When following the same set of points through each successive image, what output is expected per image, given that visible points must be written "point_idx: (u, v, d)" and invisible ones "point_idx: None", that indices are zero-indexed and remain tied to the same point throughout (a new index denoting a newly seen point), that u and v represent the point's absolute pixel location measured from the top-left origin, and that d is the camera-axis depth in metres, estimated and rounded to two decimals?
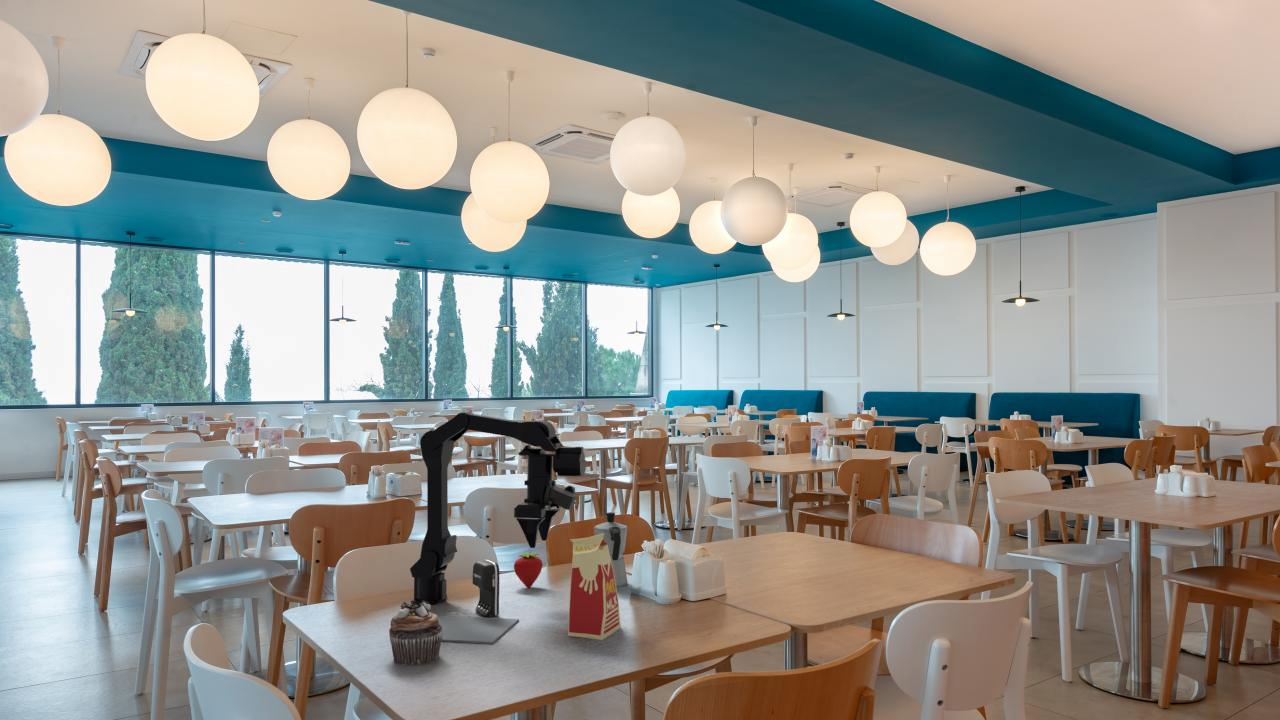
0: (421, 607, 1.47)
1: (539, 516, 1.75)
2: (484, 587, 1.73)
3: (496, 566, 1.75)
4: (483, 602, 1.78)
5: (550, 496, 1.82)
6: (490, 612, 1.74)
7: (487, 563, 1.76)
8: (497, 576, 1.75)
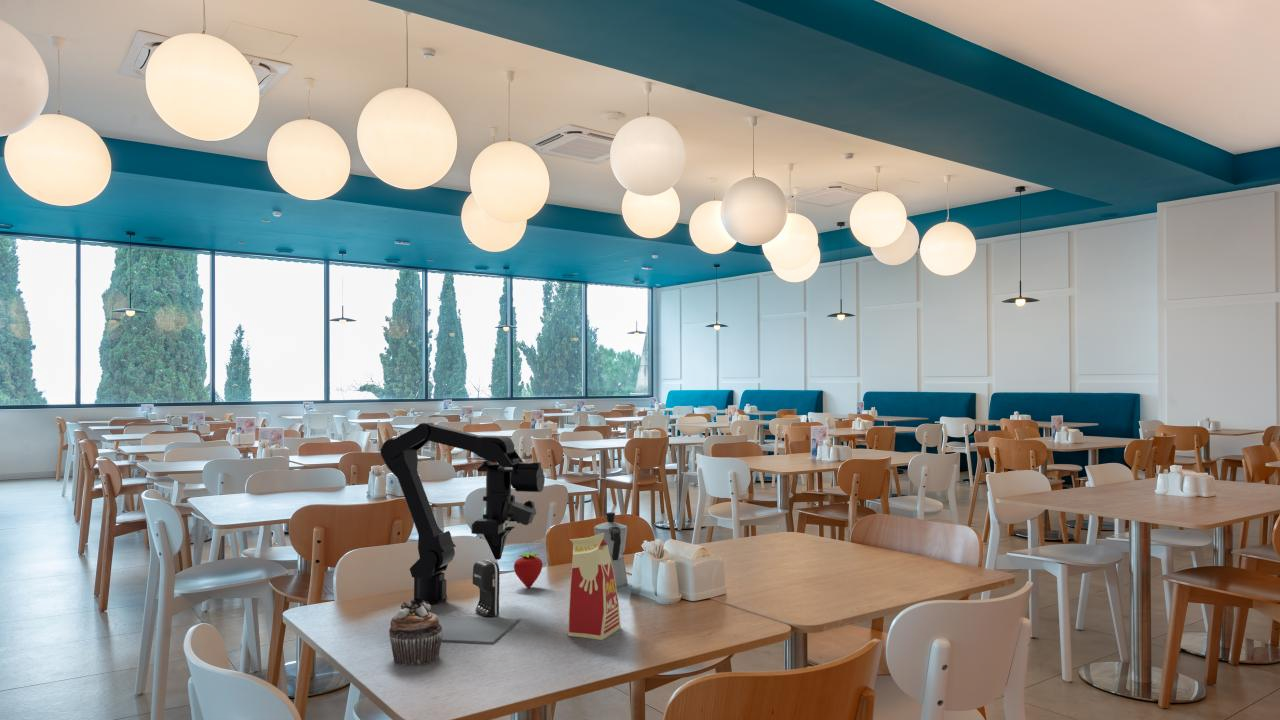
0: (421, 607, 1.47)
1: (496, 532, 1.76)
2: (484, 587, 1.73)
3: (496, 566, 1.75)
4: (483, 602, 1.78)
5: (508, 512, 1.83)
6: (490, 612, 1.74)
7: (487, 563, 1.76)
8: (497, 576, 1.75)
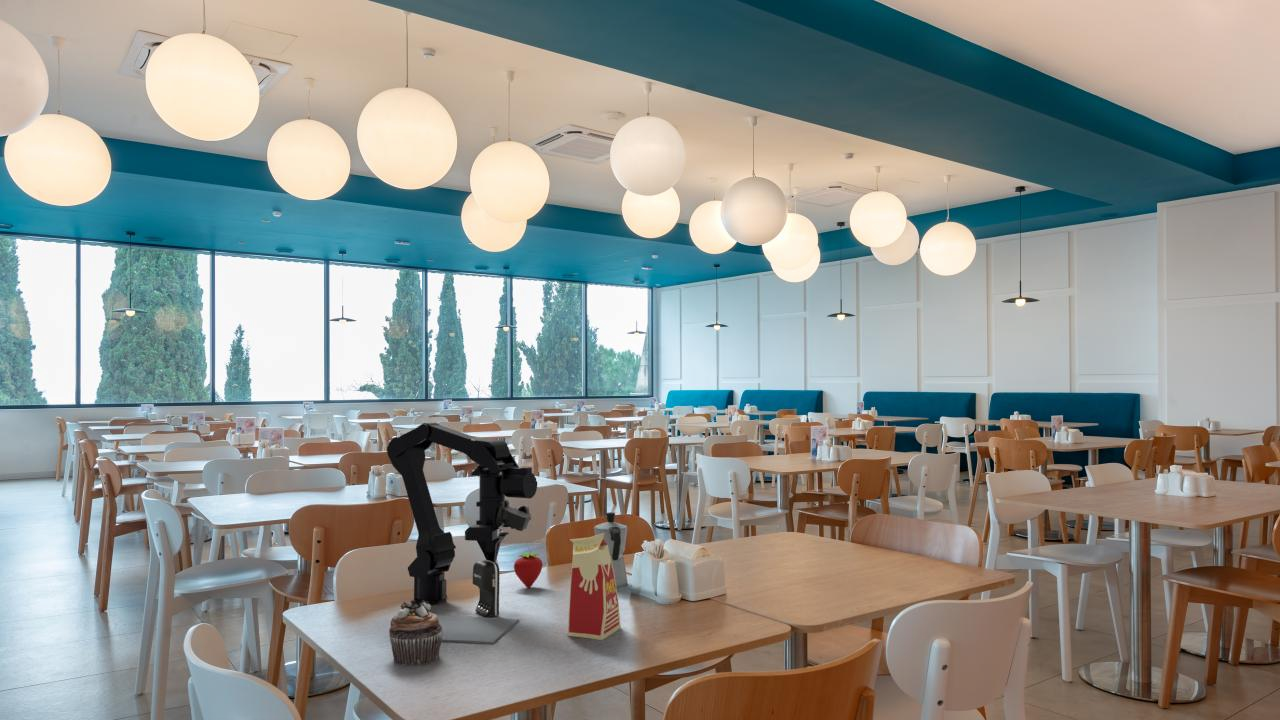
0: (421, 607, 1.47)
1: (490, 538, 1.72)
2: (484, 587, 1.73)
3: (496, 566, 1.75)
4: (483, 602, 1.78)
5: (502, 517, 1.78)
6: (490, 612, 1.74)
7: (487, 563, 1.76)
8: (497, 576, 1.75)
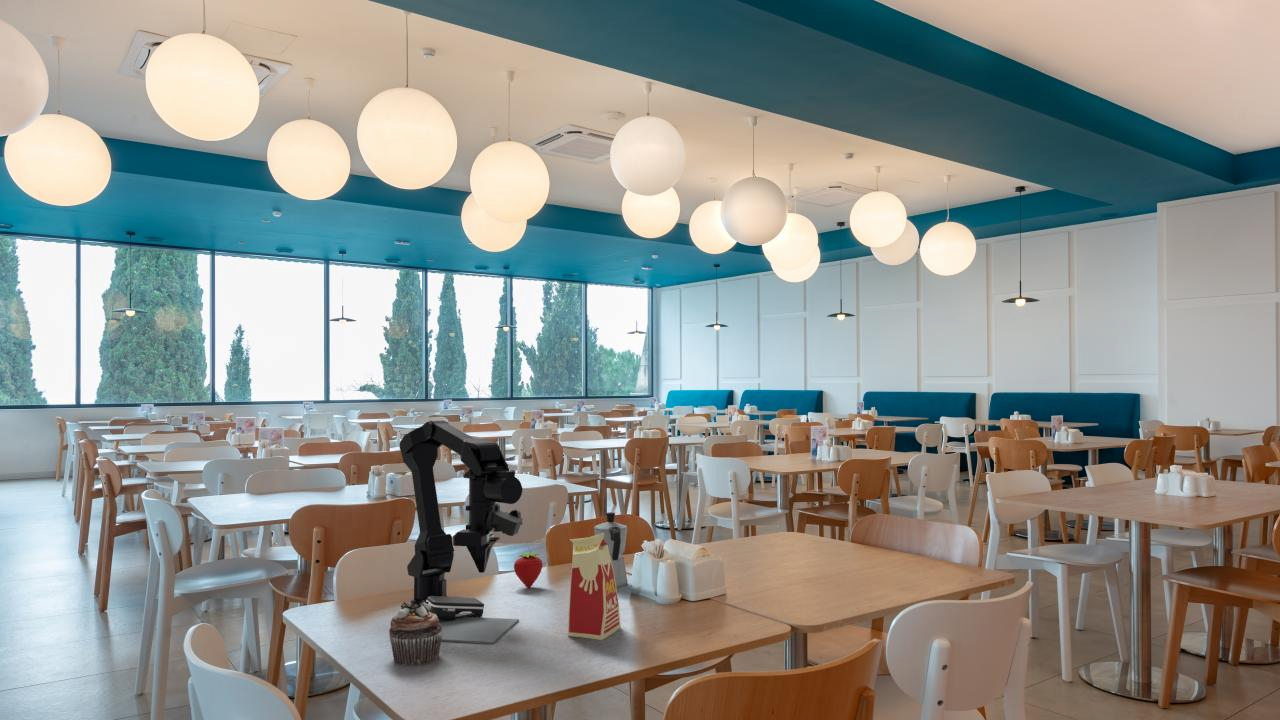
0: (421, 607, 1.47)
1: (479, 544, 1.66)
2: (452, 619, 1.70)
3: (436, 604, 1.68)
4: None
5: (492, 522, 1.72)
6: (479, 613, 1.72)
7: (430, 610, 1.69)
8: (446, 605, 1.69)
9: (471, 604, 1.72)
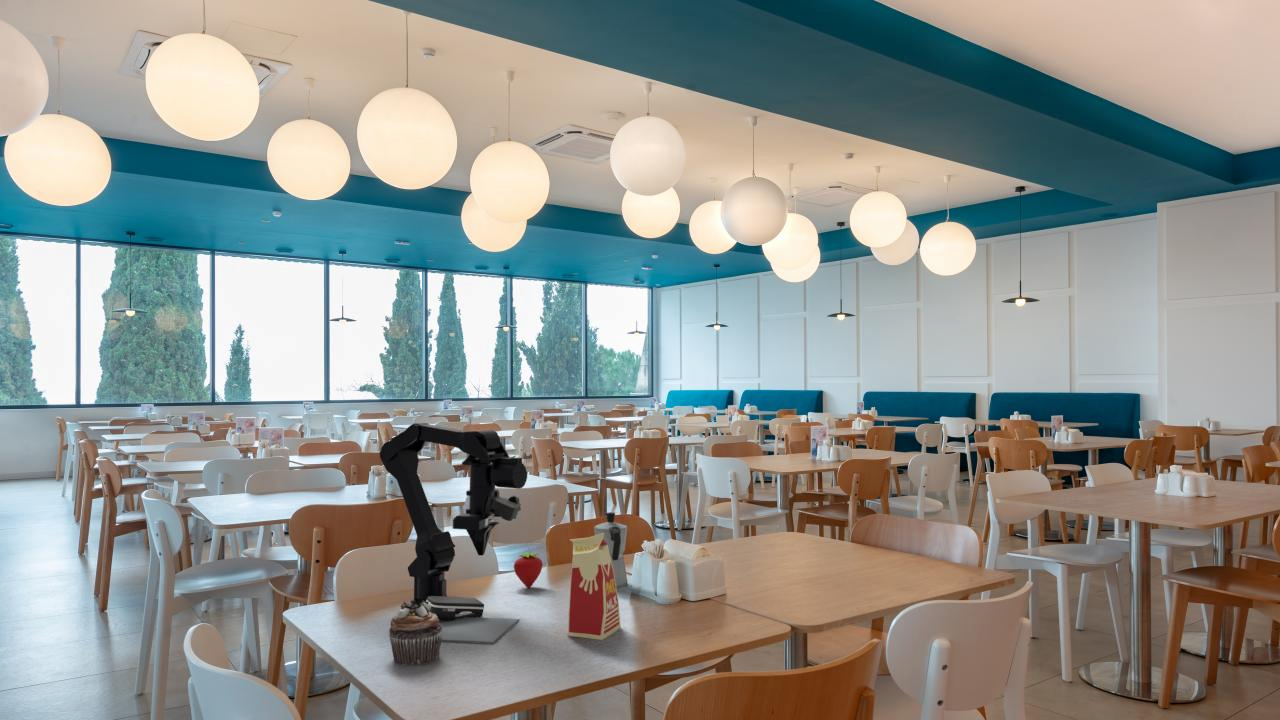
0: (421, 607, 1.47)
1: (477, 528, 1.73)
2: (452, 619, 1.70)
3: (436, 605, 1.68)
4: None
5: (491, 507, 1.79)
6: (479, 613, 1.72)
7: (430, 610, 1.69)
8: (446, 605, 1.69)
9: (471, 604, 1.72)
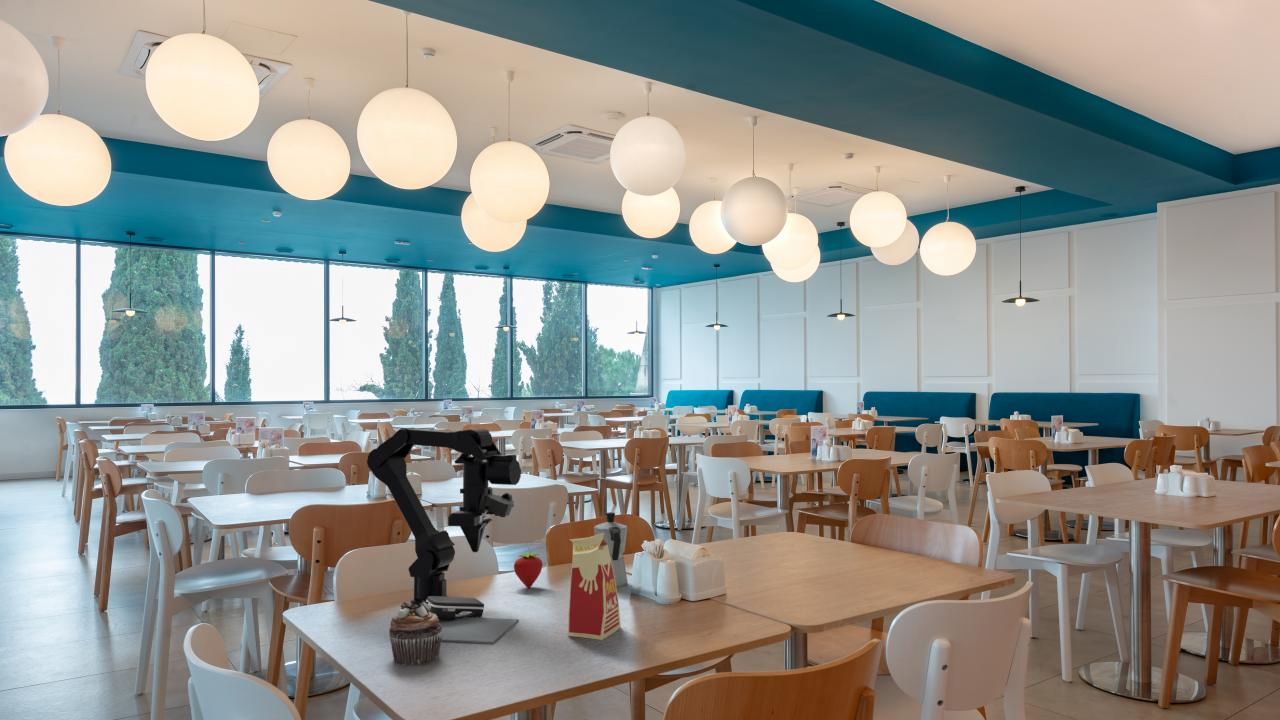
0: (421, 607, 1.47)
1: (472, 524, 1.76)
2: (452, 619, 1.70)
3: (436, 605, 1.68)
4: None
5: (485, 504, 1.82)
6: (479, 613, 1.72)
7: (430, 610, 1.69)
8: (446, 605, 1.69)
9: (471, 604, 1.72)
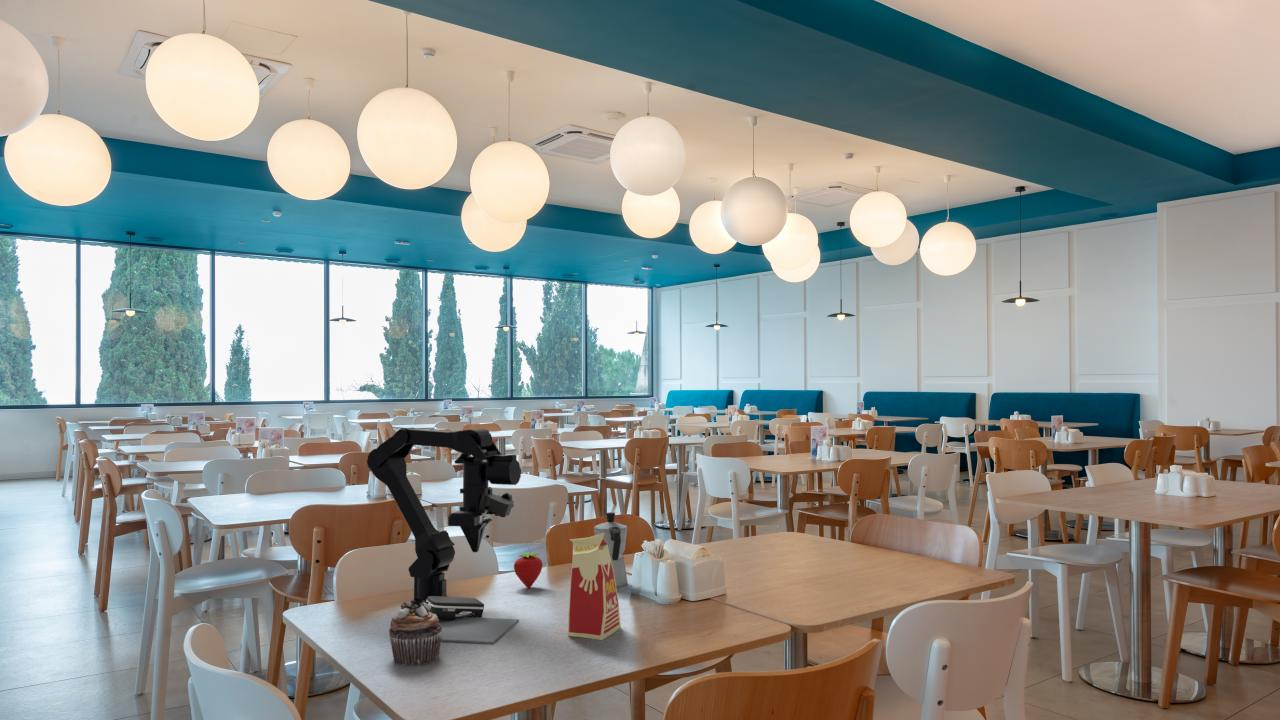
0: (421, 607, 1.47)
1: (472, 524, 1.76)
2: (452, 619, 1.70)
3: (436, 605, 1.68)
4: None
5: (485, 504, 1.82)
6: (479, 613, 1.72)
7: (430, 610, 1.69)
8: (446, 605, 1.69)
9: (471, 604, 1.72)
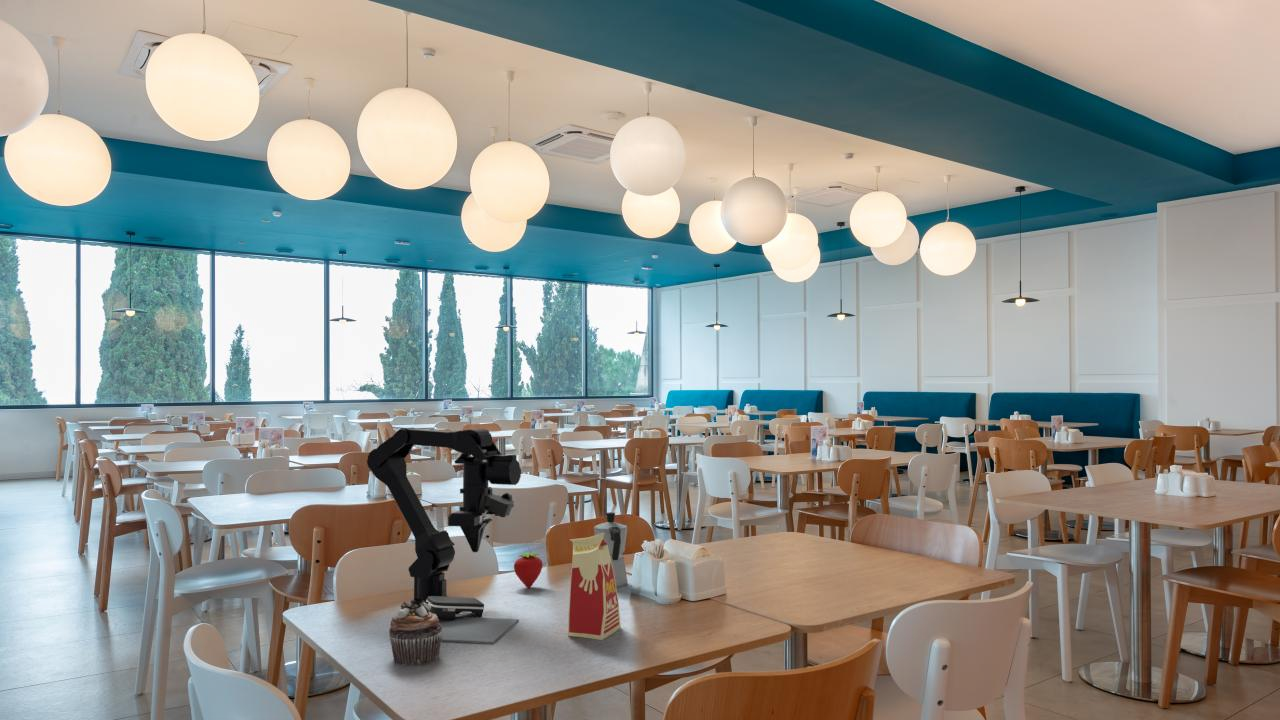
0: (421, 607, 1.47)
1: (472, 524, 1.76)
2: (452, 619, 1.70)
3: (436, 605, 1.68)
4: None
5: (485, 504, 1.82)
6: (479, 613, 1.72)
7: (430, 610, 1.69)
8: (446, 605, 1.69)
9: (471, 604, 1.72)
